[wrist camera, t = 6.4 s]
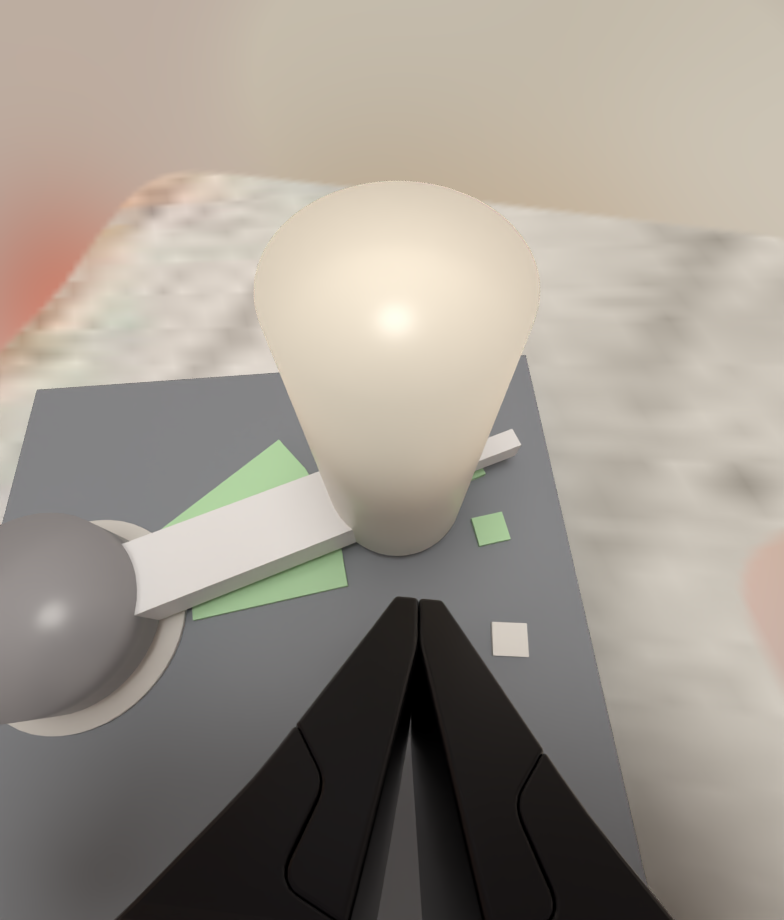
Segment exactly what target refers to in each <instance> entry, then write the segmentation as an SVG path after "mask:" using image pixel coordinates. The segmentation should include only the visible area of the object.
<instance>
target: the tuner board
mask: <svg viewBox="0 0 784 920" xmlns="http://www.w3.org/2000/svg"><path fill="white" fill-rule="evenodd" d="M510 429H513V431H514V433H515V434H516V436H517V438H518V440H519V442H520V443H521V446H520V448H519V450H518V452H517V453H516V455H515V456H513V457H510V458H507V459H505V460H502V461H500V462H497V463H495V464H492V465H489V466H487V467H484V468H482V469H479V470H477V471H475V472H474V475H473V477H472V480H471V482H470V485H469V487H468V490H467V492H466V495H465V497H464V500H463V502H462V505H461V507H460V510H459V512H458V515H457V517H456V519H455V522H454V524H453V525H452V527H451V528H450V530H449V531H448V532H447V534H446V535H445V536H444V537H443V538H442V539H441V540H440V541H438V542H437V543H436V544H434V545H433V546H431V547H430V548H428V549H426V550H423V551H421V552H418V553H415V554H410V555H404V556H391V555H384V554H379V553H376V552H374V551H371V550H369V549H367V548H365V547H363V546H362V545H360V544H359V543H357V542H355V543H353V544H350V545H348V546H345V547H343V548H340V549H338V550H335V551H333V552H330V553H327V554H325V555H322V556H320V557H317V558H315V559H312V560H310V561H307V562H305V563H302V564H300V565H297V566H295V567H292V568H290V569H287V570H285V571H282V572H279V573H277V574H274V575H272V576H269V577H267V578H264V579H262V580H259V581H257V582H254V583H252V584H249V585H247V586H244V587H242V588H239V589H237V590H234V591H232V592H229V593H226V594H224V595H221V596H219V597H216V598H214V599H211V600H209V601H206V602H204V603H201V604H199V605H196V606H194V607H191V608H189V609H186V610H184V611H181V612H179V613H176V614H173V615H171V616H168V617H166V618H163V619H161V620H159V623H158V627H157V631H156V633H155V636H154V638H153V641H152V643H151V645H150V647H149V649H148V651H147V653H146V655H145V657H144V658H143V660H142V661H141V663H140V664H139V666H138V667H137V668H136V669H135V671H134V672H133V673H132V674H131V676H130V677H129V678H128V679H127V680H126V681H125V682H124V683H123V684H122V685H121V686H120V687H119V688H117V689H116V690H115V691H114V692H112V693H111V694H110V695H109V696H107V697H106V698H104V699H102V700H101V701H99V702H98V703H96V704H94V705H92V706H90V707H88V708H86V709H83V710H80V711H77V712H75V713H72V714H67V715H62V716H56V717H50V718H43V719H36V720H30V721H23V722H16V723H9V724H3V725H0V920H114V919H115V918H116V917H117V916H118V915H119V914H120V913H121V912H122V911H123V910H124V909H126V908H127V907H128V906H129V905H130V904H131V903H132V902H133V901H134V900H135V899H136V898H137V897H138V895H139V894H140V893H141V892H142V891H143V890H144V889H145V888H146V887H147V886H148V885H149V884H150V883H151V882H152V881H153V880H154V879H155V878H156V877H157V876H158V875H159V874H160V873H161V872H162V871H163V870H164V869H165V868H166V867H167V866H168V865H169V864H170V863H171V862H172V861H173V860H174V859H175V858H176V857H177V856H178V855H179V854H180V853H181V852H182V851H183V849H184V848H185V847H186V846H187V845H188V844H189V843H190V842H191V841H192V840H193V839H194V838H195V837H196V836H197V835H198V834H199V833H200V832H201V831H202V830H203V829H204V828H205V827H206V826H207V825H208V824H209V823H210V822H211V821H212V820H213V819H214V818H215V817H216V816H217V815H218V814H219V813H220V812H221V811H222V810H223V809H224V807H225V806H226V805H227V804H228V803H229V802H230V801H231V800H232V799H233V798H234V797H235V796H236V795H237V794H238V792H239V791H240V790H241V789H242V788H243V787H244V786H245V785H246V784H247V783H248V782H249V781H250V780H251V779H252V777H253V776H254V775H255V774H256V773H257V771H258V770H259V769H260V768H261V767H262V765H263V764H264V763H265V762H266V761H267V759H268V758H269V757H270V756H271V755H272V753H273V752H274V751H275V750H276V749H277V747H278V746H279V745H280V744H281V742H282V741H283V740H284V738H285V737H286V736H287V735H288V733H289V732H290V731H291V729H292V728H293V727H296V724H297V722H298V721H299V720H300V718H301V717H302V716H303V714H304V713H305V712H306V711H307V709H308V708H309V707H310V705H311V704H312V703H313V702H314V700H315V699H316V698H317V696H318V695H319V694H320V693H321V691H322V690H323V689H324V688H325V686H326V685H327V684H328V682H329V681H330V680H331V679H332V677H333V676H334V675H335V673H336V672H337V671H338V670H339V668H340V667H341V666H342V664H343V663H344V662H345V661H346V659H347V658H348V657H349V655H350V654H351V653H352V652H353V650H354V649H355V648H356V646H357V645H358V644H359V643H360V641H361V640H362V639H363V637H364V636H365V635H366V634H367V632H368V631H369V630H370V629H371V627H372V626H373V625H374V623H375V622H376V621H377V620H378V618H379V617H380V616H381V614H382V613H383V612H384V611H385V609H386V608H387V607H388V605H389V604H390V603H391V602H392V600H393V599H394V598H395V597H397V596H402V597H412V598H416V599H418V602H419V601H420V599H434V600H441V601H442V602H444V604H445V605H446V607H447V608H448V610H449V611H450V613H451V614H452V616H453V617H454V618H455V620H456V621H457V623H458V624H459V626H460V627H461V629H462V630H463V632H464V633H465V635H466V636H467V638H468V639H469V641H470V642H471V644H472V645H473V646H474V648H475V649H476V651H477V652H478V654H479V655H480V657H481V658H482V660H483V661H484V663H485V664H486V666H487V667H488V669H489V670H490V671H491V673H492V674H493V676H494V677H495V679H496V680H497V682H498V683H499V685H500V686H501V688H502V689H503V691H504V692H505V694H506V695H507V696H508V698H509V699H510V701H511V702H512V704H513V705H514V707H515V708H516V710H517V711H518V713H519V714H520V716H521V717H522V719H523V720H524V722H525V723H526V724H527V726H528V727H529V729H530V730H531V732H532V733H533V735H534V736H535V738H536V739H537V741H538V742H539V744H540V745H541V747H542V748H543V750H544V752H543V754H547V755H548V756H549V758H550V759H551V761H552V762H553V764H554V765H555V767H556V768H557V770H558V771H559V773H560V774H561V776H562V777H563V779H564V780H565V781H566V783H567V784H568V786H569V787H570V788H571V790H572V791H573V793H574V794H575V795H576V797H577V798H578V800H579V801H580V802H581V804H582V805H583V806H584V808H585V809H586V811H587V812H588V813H589V815H590V816H591V817H592V819H593V820H594V821H595V822H596V824H597V825H598V826H599V827H600V829H601V830H602V831H603V832H604V834H605V835H606V836H607V838H608V839H609V840H610V841H611V843H612V844H613V845H614V846H615V848H616V849H617V850H618V851H619V853H620V854H621V855H622V857H623V858H624V859H625V860H626V861H627V863H628V864H629V865H630V866H631V867H632V869H633V870H634V871H635V872H636V874H637V875H638V876H639V877H640V878H641V880H642V881H643V882H644V883H645V885H646V886H647V882H646V878H645V873H644V869H643V865H642V860H641V856H640V852H639V847H638V843H637V839H636V834H635V830H634V825H633V821H632V817H631V812H630V808H629V804H628V799H627V795H626V791H625V786H624V782H623V778H622V773H621V769H620V764H619V760H618V756H617V751H616V747H615V743H614V738H613V734H612V730H611V725H610V721H609V716H608V712H607V708H606V703H605V699H604V695H603V690H602V686H601V682H600V677H599V673H598V668H597V664H596V660H595V655H594V651H593V647H592V642H591V638H590V634H589V629H588V625H587V621H586V616H585V612H584V607H583V603H582V599H581V594H580V590H579V586H578V581H577V577H576V573H575V568H574V564H573V559H572V555H571V551H570V546H569V542H568V538H567V533H566V529H565V525H564V520H563V516H562V511H561V507H560V503H559V498H558V494H557V490H556V485H555V481H554V477H553V472H552V468H551V464H550V459H549V455H548V450H547V446H546V442H545V437H544V433H543V429H542V424H541V420H540V416H539V411H538V407H537V402H536V398H535V394H534V389H533V385H532V381H531V376H530V372H529V368H528V363H527V359H526V355H521V356H520V359H519V361H518V364H517V366H516V369H515V372H514V374H513V377H512V379H511V382H510V384H509V387H508V389H507V392H506V394H505V397H504V399H503V402H502V404H501V407H500V409H499V412H498V414H497V417H496V419H495V422H494V424H493V427H492V429H491V432H490V434H489V437H492V436H494V435H497V434H499V433H502V432H505V431H507V430H510ZM489 437H488V438H489ZM318 471H319V469H318V467H317V464H316V462H315V460H314V457H313V455H312V452H311V450H310V447H309V445H308V442H307V440H306V437H305V435H304V432H303V430H302V427H301V425H300V422H299V420H298V417H297V415H296V412H295V410H294V407H293V405H292V402H291V400H290V398H289V395H288V393H287V390H286V388H285V385H284V383H283V380H282V378H281V375H280V373H267V374H253V375H239V376H225V377H211V378H196V379H182V380H168V381H154V382H140V383H126V384H112V385H98V386H84V387H69V388H55V389H41V390H37V391H36V395H35V399H34V403H33V407H32V411H31V414H30V418H29V422H28V426H27V430H26V434H25V438H24V441H23V445H22V449H21V453H20V457H19V461H18V465H17V468H16V472H15V476H14V480H13V484H12V488H11V492H10V495H9V499H8V503H7V507H6V511H5V515H4V518H3V522H2V524H4V523H6V522H8V521H11V520H13V519H16V518H20V517H23V516H27V515H32V514H38V513H64V514H68V515H73V516H76V517H79V518H82V519H85V520H87V521H89V522H91V523H93V524H95V525H98V526H100V527H102V528H104V529H106V530H108V531H110V532H113V533H115V534H117V535H119V536H121V537H123V538H125V539H127V540H129V541H131V540H134V539H137V538H140V537H142V536H145V535H148V534H150V533H153V532H156V531H158V530H161V529H164V528H167V527H169V526H172V525H175V524H177V523H180V522H183V521H186V520H188V519H191V518H194V517H196V516H199V515H202V514H205V513H207V512H210V511H213V510H215V509H218V508H221V507H223V506H226V505H229V504H232V503H234V502H237V501H240V500H242V499H245V498H248V497H251V496H253V495H256V494H259V493H261V492H264V491H267V490H269V489H272V488H275V487H278V486H280V485H283V484H286V483H288V482H291V481H294V480H297V479H299V478H302V477H305V476H307V475H310V474H313V473H315V472H318ZM410 728H411V720H410ZM377 920H422V910H421V895H420V879H419V864H418V848H417V833H416V818H415V802H414V787H413V771H412V756H411V735H410V729H409V737H408V744H407V750H406V756H405V762H404V768H403V773H402V779H401V785H400V791H399V797H398V802H397V808H396V814H395V820H394V825H393V831H392V837H391V843H390V848H389V854H388V860H387V866H386V871H385V877H384V883H383V889H382V894H381V900H380V906H379V912H378V918H377Z"/></svg>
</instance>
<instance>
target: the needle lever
mask: <svg viewBox="0 0 784 920" xmlns="http://www.w3.org/2000/svg"><path fill="white" fill-rule="evenodd" d="M253 293H254V303H255V309H256V313H257V317H258V320H259V323H260V326H261V328H262V331H263V333H264V336H265V338H266V340H267V343H268V345H269V348H270V350H271V353H272V355H273V358H274V360H275V363H276V365H277V368H278V370H279V373H280V375H281V378H282V380H283V383H284V385H285V388H286V390H287V393H288V395H289V398H290V400H291V402H292V405H293V407H294V410H295V412H296V415H297V417H298V420H299V422H300V425H301V427H302V430H303V432H304V435H305V437H306V440H307V442H308V445H309V447H310V450H311V452H312V455H313V457H314V460H315V462H316V464H317V467H318V469H319V471H318V472H315V473H313V474H310V475H307V476H305V477H302V478H299V479H297V480H294V481H291V482H288V483H286V484H283V485H280V486H278V487H275V488H272V489H269V490H267V491H264V492H261V493H259V494H256V495H253V496H251V497H248V498H245V499H242V500H240V501H237V502H234V503H232V504H229V505H226V506H223V507H221V508H218V509H215V510H213V511H210V512H207V513H205V514H202V515H199V516H196V517H194V518H191V519H188V520H186V521H183V522H180V523H177V524H175V525H172V526H169V527H167V528H164V529H161V530H158V531H156V532H153V533H150V534H148V535H145V536H142V537H140V538H137V539H134V540H131V541H129V540H127V539H125V538H123V537H121V536H119V535H117V534H115V533H113V532H110V531H108V530H106V529H104V528H102V527H100V526H98V525H95V524H93V523H91V522H89V521H87V520H85V519H82V518H79V517H76V516H73V515H68V514H64V513H38V514H32V515H27V516H23V517H20V518H16V519H13V520H11V521H8V522H6V523H4V524H1V525H0V725H3V724H9V723H16V722H23V721H30V720H36V719H43V718H50V717H56V716H62V715H67V714H72V713H75V712H77V711H80V710H83V709H86V708H88V707H90V706H92V705H94V704H96V703H98V702H99V701H101V700H102V699H104V698H106V697H107V696H109V695H110V694H111V693H112V692H114V691H115V690H116V689H117V688H119V687H120V686H121V685H122V684H123V683H124V682H125V681H126V680H127V679H128V678H129V677H130V676H131V674H132V673H133V672H134V671H135V669H136V668H137V667H138V666H139V664H140V663H141V661H142V660H143V658H144V657H145V655H146V653H147V651H148V649H149V647H150V645H151V643H152V641H153V638H154V636H155V633H156V631H157V627H158V623H159V620H161V619H163V618H166V617H168V616H171V615H173V614H176V613H179V612H181V611H184V610H186V609H189V608H191V607H194V606H196V605H199V604H201V603H204V602H206V601H209V600H211V599H214V598H216V597H219V596H221V595H224V594H226V593H229V592H232V591H234V590H237V589H239V588H242V587H244V586H247V585H249V584H252V583H254V582H257V581H259V580H262V579H264V578H267V577H269V576H272V575H274V574H277V573H279V572H282V571H285V570H287V569H290V568H292V567H295V566H297V565H300V564H302V563H305V562H307V561H310V560H312V559H315V558H317V557H320V556H322V555H325V554H327V553H330V552H333V551H335V550H338V549H340V548H343V547H345V546H348V545H350V544H353V543H355V542H357V543H359V544H360V545H362V546H363V547H365V548H367V549H369V550H371V551H374V552H376V553H379V554H384V555H391V556H404V555H410V554H415V553H418V552H421V551H423V550H426V549H428V548H430V547H431V546H433V545H434V544H436V543H437V542H438V541H440V540H441V539H442V538H443V537H444V536H445V535H446V534H447V532H448V531H449V530H450V528H451V527H452V525H453V524H454V522H455V519H456V517H457V515H458V512H459V510H460V507H461V505H462V502H463V500H464V497H465V495H466V492H467V490H468V487H469V485H470V482H471V480H472V477H473V475H474V472H475V471H477V470H479V469H482V468H484V467H487V466H489V465H492V464H495V463H497V462H500V461H502V460H505V459H507V458H510V457H513V456H515V455H516V453H517V452H518V450H519V448H520V446H521V443H520V442H519V440H518V438H517V436H516V434H515V433H514V431H513V429H510V430H507V431H505V432H502V433H499V434H497V435H494V436H492V437H489V434H490V432H491V429H492V427H493V424H494V422H495V419H496V417H497V414H498V412H499V409H500V407H501V404H502V402H503V399H504V397H505V394H506V392H507V389H508V387H509V384H510V382H511V379H512V377H513V374H514V372H515V369H516V366H517V364H518V361H519V359H520V356H521V354H522V351H523V349H524V346H525V344H526V341H527V339H528V336H529V334H530V331H531V329H532V326H533V324H534V321H535V318H536V314H537V311H538V307H539V299H540V280H539V274H538V270H537V266H536V262H535V260H534V257H533V255H532V253H531V250H530V249H529V247H528V245H527V244H526V242H525V240H524V239H523V237H522V236H521V235H520V233H519V232H518V231H517V230H516V229H515V227H514V226H513V225H512V224H511V223H510V222H509V221H508V220H506V219H505V218H504V217H503V216H502V215H501V214H499V213H498V212H497V211H495V210H494V209H493V208H491V207H490V206H488V205H486V204H485V203H483V202H481V201H479V200H478V199H476V198H474V197H471V196H469V195H467V194H465V193H462V192H460V191H457V190H454V189H451V188H447V187H443V186H439V185H434V184H430V183H423V182H415V181H380V182H373V183H366V184H361V185H357V186H352V187H348V188H345V189H342V190H339V191H336V192H333V193H331V194H328V195H326V196H324V197H322V198H320V199H317V200H316V201H314V202H312V203H311V204H309V205H307V206H305V207H304V208H302V209H301V210H300V211H298V212H297V213H296V214H294V215H293V216H292V217H291V218H290V219H288V220H287V221H286V222H285V223H284V224H283V225H282V226H281V227H280V228H279V230H278V231H277V232H276V233H275V234H274V236H273V237H272V238H271V240H270V241H269V243H268V244H267V246H266V248H265V249H264V251H263V253H262V256H261V258H260V261H259V263H258V266H257V270H256V274H255V279H254V292H253ZM488 437H489V438H488Z"/></svg>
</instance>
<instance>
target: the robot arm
mask: <svg viewBox="0 0 784 920" xmlns="http://www.w3.org/2000/svg"><path fill="white" fill-rule="evenodd" d="M410 720H411V728H410ZM409 729H410V735H411V756H412V771H413V787H414V802H415V818H416V833H417V848H418V864H419V879H420V895H421V910H422V920H674V919H673V917H672V916H671V915H670V914H669V913H668V911H667V910H666V909H665V908H664V906H663V905H662V904H661V903H660V902H659V900H658V899H657V898H656V897H655V895H654V894H653V893H652V892H651V891H650V889H649V888H648V887H647V886H646V885H645V883H644V882H643V881H642V880H641V878H640V877H639V876H638V875H637V874H636V872H635V871H634V870H633V869H632V867H631V866H630V865H629V864H628V863H627V861H626V860H625V859H624V858H623V857H622V855H621V854H620V853H619V851H618V850H617V849H616V848H615V846H614V845H613V844H612V843H611V841H610V840H609V839H608V838H607V836H606V835H605V834H604V832H603V831H602V830H601V829H600V827H599V826H598V825H597V824H596V822H595V821H594V820H593V819H592V817H591V816H590V815H589V813H588V812H587V811H586V809H585V808H584V806H583V805H582V804H581V802H580V801H579V800H578V798H577V797H576V795H575V794H574V793H573V791H572V790H571V788H570V787H569V786H568V784H567V783H566V781H565V780H564V779H563V777H562V776H561V774H560V773H559V771H558V770H557V768H556V767H555V765H554V764H553V762H552V761H551V759H550V758H549V756H548V755H547V754H543V752H544V750H543V748H542V747H541V745H540V744H539V742H538V741H537V739H536V738H535V736H534V735H533V733H532V732H531V730H530V729H529V727H528V726H527V724H526V723H525V722H524V720H523V719H522V717H521V716H520V714H519V713H518V711H517V710H516V708H515V707H514V705H513V704H512V702H511V701H510V699H509V698H508V696H507V695H506V694H505V692H504V691H503V689H502V688H501V686H500V685H499V683H498V682H497V680H496V679H495V677H494V676H493V674H492V673H491V671H490V670H489V669H488V667H487V666H486V664H485V663H484V661H483V660H482V658H481V657H480V655H479V654H478V652H477V651H476V649H475V648H474V646H473V645H472V644H471V642H470V641H469V639H468V638H467V636H466V635H465V633H464V632H463V630H462V629H461V627H460V626H459V624H458V623H457V621H456V620H455V618H454V617H453V616H452V614H451V613H450V611H449V610H448V608H447V607H446V605H445V604H444V602H442V601H441V600H434V599H420V601H419V602H418V599H416V598H412V597H402V596H397V597H395V598H394V599H393V600H392V602H391V603H390V604H389V605H388V607H387V608H386V609H385V611H384V612H383V613H382V614H381V616H380V617H379V618H378V620H377V621H376V622H375V623H374V625H373V626H372V627H371V629H370V630H369V631H368V632H367V634H366V635H365V636H364V637H363V639H362V640H361V641H360V643H359V644H358V645H357V646H356V648H355V649H354V650H353V652H352V653H351V654H350V655H349V657H348V658H347V659H346V661H345V662H344V663H343V664H342V666H341V667H340V668H339V670H338V671H337V672H336V673H335V675H334V676H333V677H332V679H331V680H330V681H329V682H328V684H327V685H326V686H325V688H324V689H323V690H322V691H321V693H320V694H319V695H318V696H317V698H316V699H315V700H314V702H313V703H312V704H311V705H310V707H309V708H308V709H307V711H306V712H305V713H304V714H303V716H302V717H301V718H300V720H299V721H298V722H297V724H296V727H293V728H292V729H291V731H290V732H289V733H288V735H287V736H286V737H285V738H284V740H283V741H282V742H281V744H280V745H279V746H278V747H277V749H276V750H275V751H274V752H273V753H272V755H271V756H270V757H269V758H268V759H267V761H266V762H265V763H264V764H263V765H262V767H261V768H260V769H259V770H258V771H257V773H256V774H255V775H254V776H253V777H252V779H251V780H250V781H249V782H248V783H247V784H246V785H245V786H244V787H243V788H242V789H241V790H240V791H239V792H238V794H237V795H236V796H235V797H234V798H233V799H232V800H231V801H230V802H229V803H228V804H227V805H226V806H225V807H224V809H223V810H222V811H221V812H220V813H219V814H218V815H217V816H216V817H215V818H214V819H213V820H212V821H211V822H210V823H209V824H208V825H207V826H206V827H205V828H204V829H203V830H202V831H201V832H200V833H199V834H198V835H197V836H196V837H195V838H194V839H193V840H192V841H191V842H190V843H189V844H188V845H187V846H186V847H185V848H184V849H183V851H182V852H181V853H180V854H179V855H178V856H177V857H176V858H175V859H174V860H173V861H172V862H171V863H170V864H169V865H168V866H167V867H166V868H165V869H164V870H163V871H162V872H161V873H160V874H159V875H158V876H157V877H156V878H155V879H154V880H153V881H152V882H151V883H150V884H149V885H148V886H147V887H146V888H145V889H144V890H143V891H142V892H141V893H140V894H139V895H138V897H137V898H136V899H135V900H134V901H133V902H132V903H131V904H130V905H129V906H128V907H127V908H126V909H124V910H123V911H122V912H121V913H120V914H119V915H118V916H117V917H116V918H115V919H114V920H377V918H378V912H379V906H380V900H381V894H382V889H383V883H384V877H385V871H386V866H387V860H388V854H389V848H390V843H391V837H392V831H393V825H394V820H395V814H396V808H397V802H398V797H399V791H400V785H401V779H402V773H403V768H404V762H405V756H406V750H407V744H408V737H409Z"/></svg>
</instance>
